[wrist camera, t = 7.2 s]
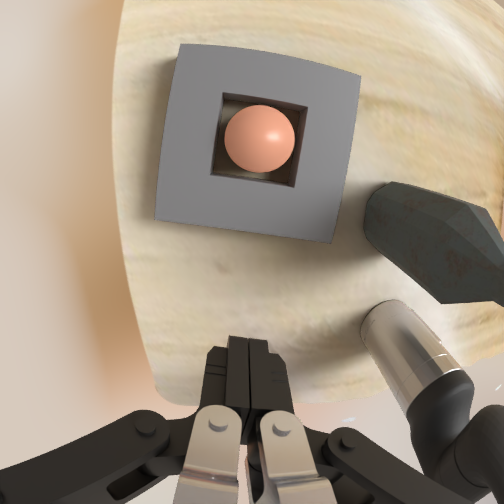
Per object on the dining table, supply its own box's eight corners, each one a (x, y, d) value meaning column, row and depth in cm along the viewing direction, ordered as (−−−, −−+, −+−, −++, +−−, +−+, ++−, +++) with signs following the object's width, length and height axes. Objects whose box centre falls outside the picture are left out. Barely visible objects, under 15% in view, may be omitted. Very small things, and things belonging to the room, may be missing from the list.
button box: (348, 83, 29) (361, 76, 25) (321, 233, 35) (331, 243, 32) (186, 54, 27) (180, 43, 23) (163, 212, 33) (154, 219, 29)
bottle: (376, 264, 37) (520, 421, 9) (349, 205, 34) (552, 346, 6) (428, 227, 36) (588, 332, 8) (407, 168, 33) (611, 236, 5)
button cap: (292, 116, 29) (299, 112, 26) (282, 174, 32) (288, 177, 28) (231, 106, 29) (230, 100, 25) (221, 165, 31) (219, 167, 27)
